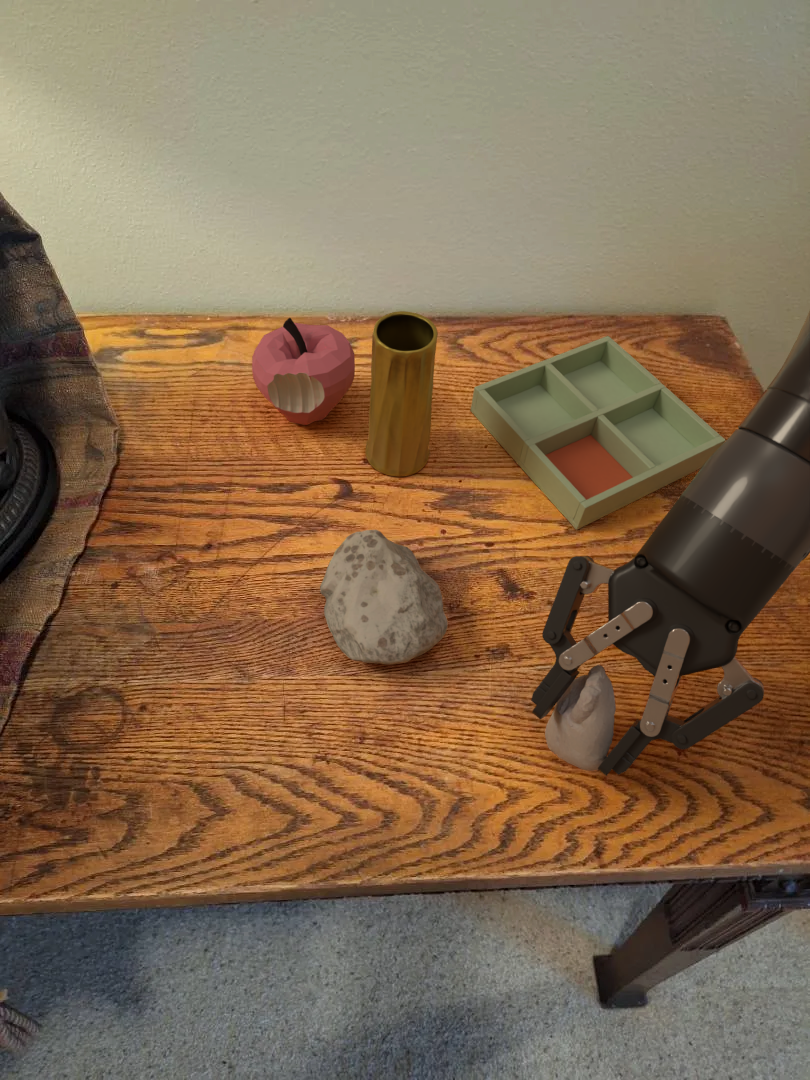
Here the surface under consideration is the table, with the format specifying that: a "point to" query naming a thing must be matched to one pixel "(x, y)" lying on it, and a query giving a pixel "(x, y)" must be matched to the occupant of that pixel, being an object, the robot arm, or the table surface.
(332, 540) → the table surface
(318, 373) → the apple
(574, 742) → the grey brown rock
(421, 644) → the decorative stone
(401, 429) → the vase
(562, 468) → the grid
